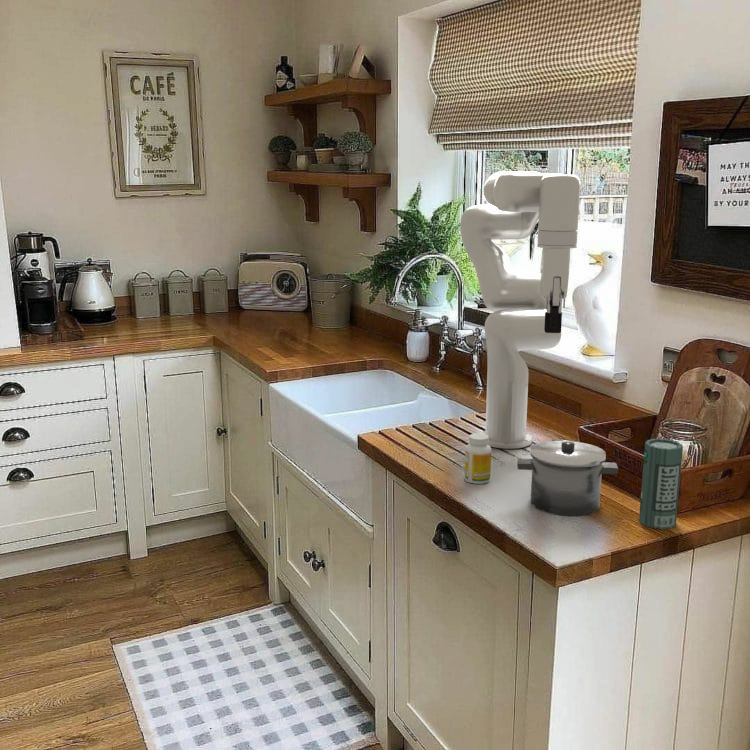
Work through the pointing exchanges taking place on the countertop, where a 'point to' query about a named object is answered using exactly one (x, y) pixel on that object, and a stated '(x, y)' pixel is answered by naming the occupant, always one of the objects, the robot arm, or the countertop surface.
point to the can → (660, 483)
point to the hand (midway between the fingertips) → (552, 332)
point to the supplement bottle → (478, 459)
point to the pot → (566, 487)
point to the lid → (567, 453)
